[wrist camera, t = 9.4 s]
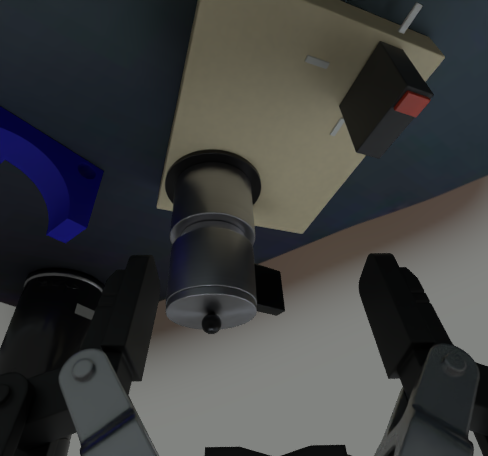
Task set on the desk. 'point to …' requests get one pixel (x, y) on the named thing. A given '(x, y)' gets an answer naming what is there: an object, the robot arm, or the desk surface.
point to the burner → (212, 156)
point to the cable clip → (52, 175)
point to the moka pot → (216, 253)
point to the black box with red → (383, 100)
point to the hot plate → (282, 95)
